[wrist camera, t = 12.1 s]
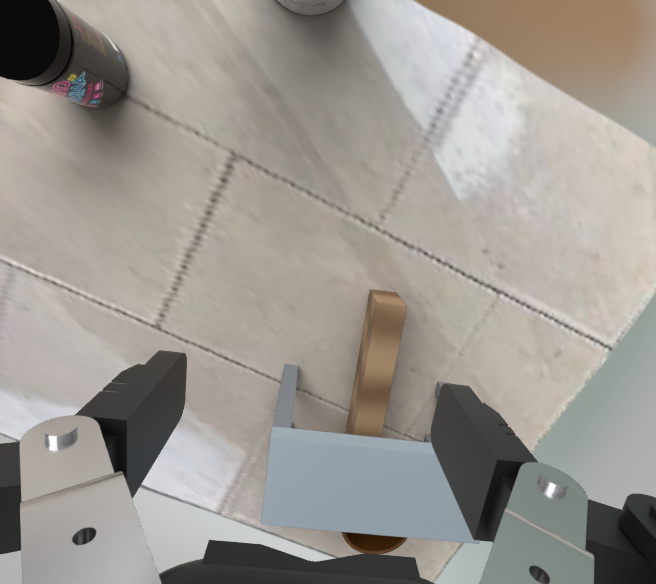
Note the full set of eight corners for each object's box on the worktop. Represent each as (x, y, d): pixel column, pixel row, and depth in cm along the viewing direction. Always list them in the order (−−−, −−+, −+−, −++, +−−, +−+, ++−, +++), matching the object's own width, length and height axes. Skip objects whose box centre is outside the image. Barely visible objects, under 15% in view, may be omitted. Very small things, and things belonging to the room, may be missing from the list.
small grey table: (284, 364, 44) (270, 437, 31) (450, 383, 45) (503, 461, 32) (277, 430, 47) (260, 524, 34) (435, 447, 48) (478, 543, 35)
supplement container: (45, 76, 36) (-61, 32, 26) (82, 14, 35) (-14, -58, 25) (107, 125, 37) (29, 102, 27) (145, 67, 36) (78, 19, 26)
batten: (369, 288, 42) (377, 303, 37) (396, 292, 43) (407, 306, 37) (344, 434, 47) (348, 465, 42) (368, 437, 48) (374, 468, 42)
